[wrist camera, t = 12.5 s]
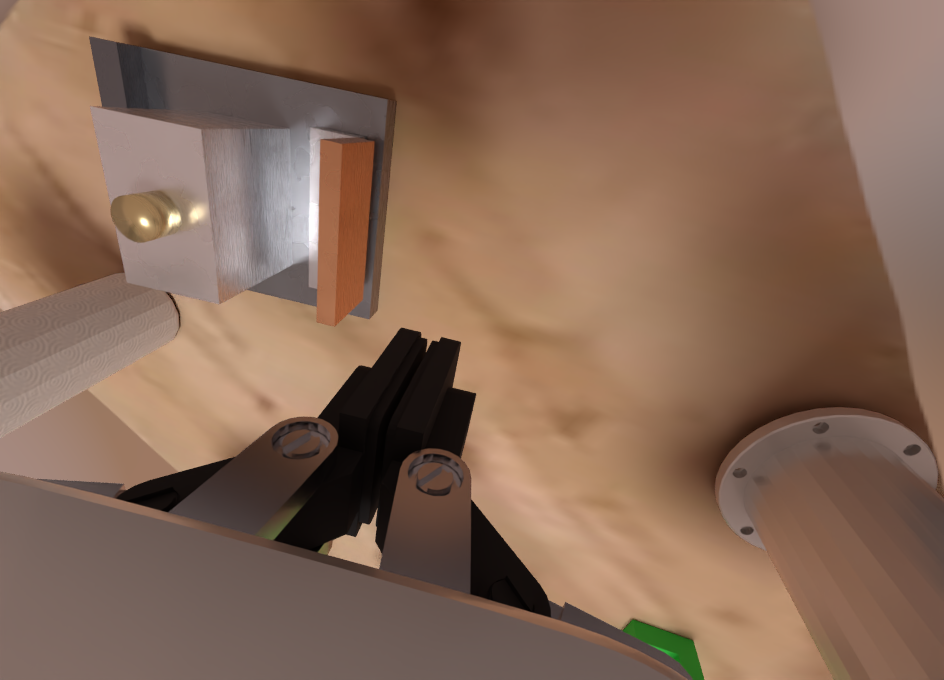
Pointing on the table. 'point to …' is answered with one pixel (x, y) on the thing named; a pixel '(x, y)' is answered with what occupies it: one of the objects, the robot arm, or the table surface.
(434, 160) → the table surface
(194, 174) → the block
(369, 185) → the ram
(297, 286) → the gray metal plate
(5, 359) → the paper towel roll
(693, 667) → the mechanical part
